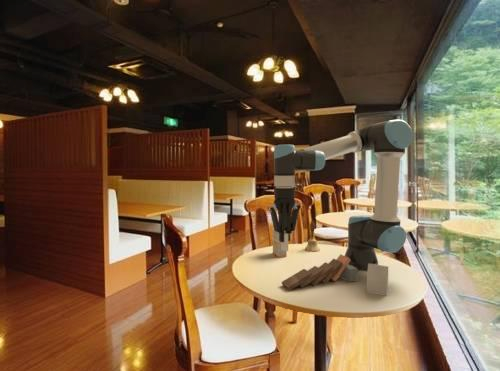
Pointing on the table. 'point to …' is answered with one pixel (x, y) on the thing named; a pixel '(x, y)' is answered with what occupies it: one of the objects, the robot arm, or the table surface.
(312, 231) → the hand bell
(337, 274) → the terracotta tile
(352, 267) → the block
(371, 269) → the beige boxy piece
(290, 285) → the walnut tile
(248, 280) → the table surface
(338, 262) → the walnut tile
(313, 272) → the walnut tile
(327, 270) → the walnut tile
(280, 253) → the supplement box
